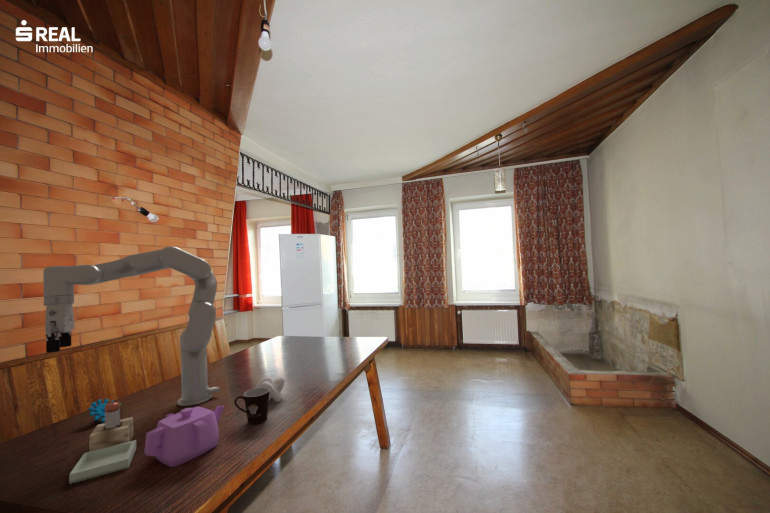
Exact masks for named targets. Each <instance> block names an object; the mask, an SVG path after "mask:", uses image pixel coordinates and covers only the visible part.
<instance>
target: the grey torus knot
mask: <svg viewBox="0 0 770 513" xmlns="http://www.w3.org/2000/svg"><path fill="white" fill-rule="evenodd" d="M285 382H286V381H285V378H283V377H282V376H281V377H280V376H279V377H277V378H276V379H275V380H274V379H273V378H271V377H267V376H266V377H263V378H261V379H260V380H259V381H258V383H257V384H256V387H255V388H254V389H256V388H268V389H269V390H270V391H269V402H270V401H271V400H273V401H274V402H275V403H279V402H281V401H282V399H283V396H282V393H281V391H282V390H283V388H284V386H285Z"/></svg>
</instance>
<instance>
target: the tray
mask: <svg viewBox="0 0 770 513" xmlns="http://www.w3.org/2000/svg"><path fill="white" fill-rule="evenodd" d="M136 450H137V439H134V440H131V441H130V442H126V443H122V444H118V445H114V446H110V447H106V448H102V449H98V450H94V451H90V452H89V451H86V452H84V453H83V454H82V456H81V457H80V459H78V462H77V463H76V464H75V466H74V467H73V468H72V470H71V471H70V473H69V475H68V479H69V480H68V484H70V485H73V484H72V483H74V484H77V483H80V481H81V482H84V481H88V480H91V479H95V478H98V477H101V476H106V475H109V474H112V473H115V472H118V471H123V470H125V469H129V468H130V465H131V463H132V461H133V457H134V456H135V453H136ZM87 479H88V480H87ZM76 482H77V483H76Z"/></svg>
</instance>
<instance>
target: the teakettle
mask: <svg viewBox="0 0 770 513" xmlns="http://www.w3.org/2000/svg"><path fill="white" fill-rule="evenodd" d="M224 408H225V405H217V406H216V408H215V409H214V410H211V409H208V408H206V407H202V406H200V405H199V406H194V407H186V408H183V409H181V410H180V411H179V412H177V413H175V414H174V413H172V412H171V413H169V414H166V415H165V418H162V419H161V420H159V421H157V425H156V428H154V429H153V430H150V431H148V432H146V433H145V442H144V443H145V445H144V452H143V453H144V454H145V455H146V456H150V457H155V459H156V460H157V461H159V462H160V463H162V464H163V465H166V466H168V467H170V468H175V467H177V466H181V465H183V464H185V463H186V462H189V461H191V460H193V459H195V458H197V457H199V456H201V455H203V454H205V453H207V452H208V451H210V450H212V449H214V448H215V447H217V445H218V442H219V437H220V434H219V433H220V432H219V426H218V425H219V422H220V419H221V417H222V414H223V412H224Z"/></svg>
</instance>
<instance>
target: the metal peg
mask: <svg viewBox="0 0 770 513" xmlns="http://www.w3.org/2000/svg"><path fill="white" fill-rule="evenodd" d="M120 403H121V402H120V401H119V400H117V401H114V402H111V401H110V402H107V404H106V405H105V421H104V423H105V430H110V429H114V428H118V427H120V420H121V417H120V416H121V414H120V413H121V405H120Z"/></svg>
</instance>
